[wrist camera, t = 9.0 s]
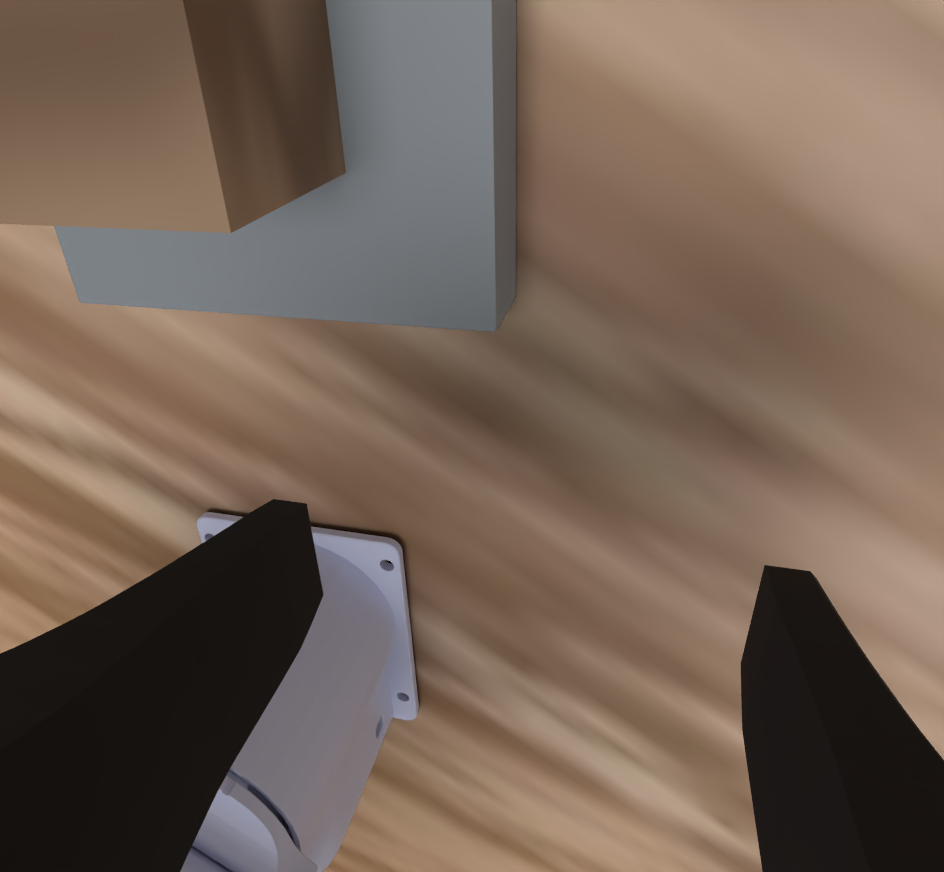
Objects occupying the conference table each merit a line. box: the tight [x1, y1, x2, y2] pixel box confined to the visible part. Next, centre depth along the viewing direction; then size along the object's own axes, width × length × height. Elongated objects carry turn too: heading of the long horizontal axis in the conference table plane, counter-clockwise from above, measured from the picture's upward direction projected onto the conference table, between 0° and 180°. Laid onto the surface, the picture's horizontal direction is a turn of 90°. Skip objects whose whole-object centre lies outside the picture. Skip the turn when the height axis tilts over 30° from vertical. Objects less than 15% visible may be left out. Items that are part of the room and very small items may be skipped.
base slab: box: [54, 0, 516, 332], centre depth 17 cm, size 12×12×2 cm
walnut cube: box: [0, 0, 346, 233], centre depth 13 cm, size 5×5×5 cm
